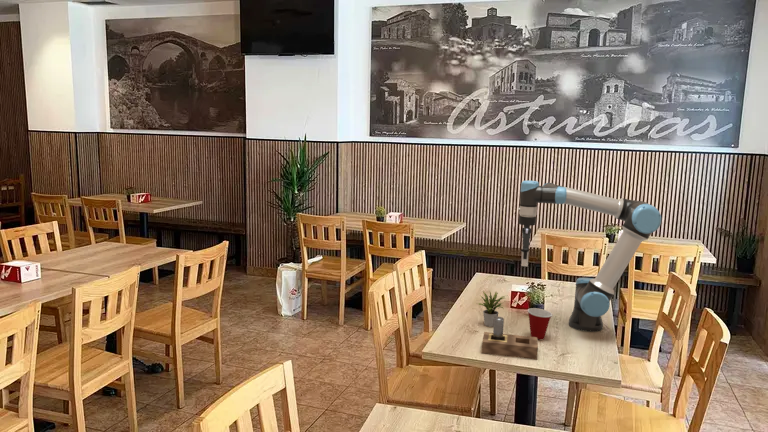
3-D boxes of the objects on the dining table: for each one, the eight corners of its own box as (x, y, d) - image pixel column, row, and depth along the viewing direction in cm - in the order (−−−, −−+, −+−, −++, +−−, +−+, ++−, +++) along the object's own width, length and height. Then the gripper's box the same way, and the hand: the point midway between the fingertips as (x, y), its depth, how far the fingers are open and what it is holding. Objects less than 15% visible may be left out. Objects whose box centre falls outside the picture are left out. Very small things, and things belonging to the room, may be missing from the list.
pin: (502, 346, 252) (503, 316, 250) (502, 350, 248) (503, 320, 246) (492, 345, 253) (493, 316, 250) (492, 349, 249) (494, 319, 246)
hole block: (536, 348, 253) (537, 336, 252) (537, 359, 241) (537, 347, 240) (483, 342, 257) (484, 331, 257) (481, 353, 246) (482, 341, 245)
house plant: (506, 332, 271) (508, 297, 268) (475, 329, 273) (477, 294, 271) (506, 322, 285) (508, 289, 282) (476, 319, 287) (478, 286, 285)
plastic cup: (551, 343, 260) (553, 316, 258) (526, 340, 262) (527, 314, 260) (550, 334, 270) (552, 308, 268) (525, 332, 272) (527, 306, 270)
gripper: (519, 211, 279) (516, 255, 282) (518, 219, 255) (515, 268, 258) (535, 212, 277) (532, 257, 280) (536, 220, 253) (533, 269, 256)
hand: (524, 262), depth 269 cm, fingers open, 13 cm apart
